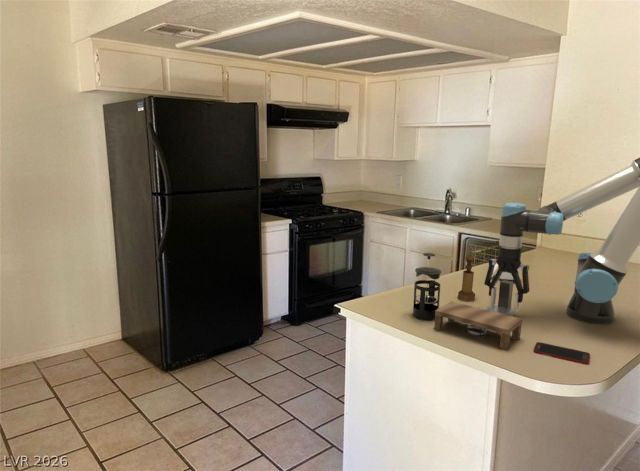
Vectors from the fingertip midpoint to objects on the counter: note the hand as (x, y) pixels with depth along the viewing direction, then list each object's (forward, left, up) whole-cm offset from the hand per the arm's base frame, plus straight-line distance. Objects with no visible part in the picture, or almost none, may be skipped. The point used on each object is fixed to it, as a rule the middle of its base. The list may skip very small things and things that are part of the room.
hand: (504, 307), depth 171 cm
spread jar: (+16, -42, -3) cm, 45 cm away
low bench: (0, +24, -2) cm, 24 cm away
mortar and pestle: (+17, -6, -2) cm, 18 cm away
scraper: (0, +8, -2) cm, 8 cm away
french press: (+20, +21, -2) cm, 29 cm away
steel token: (0, +24, -3) cm, 24 cm away
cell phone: (-25, +21, -3) cm, 33 cm away
